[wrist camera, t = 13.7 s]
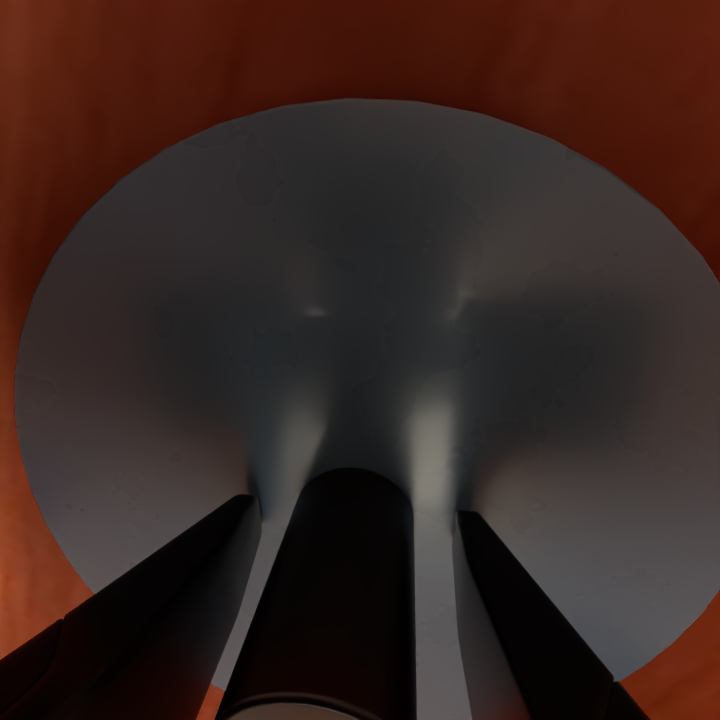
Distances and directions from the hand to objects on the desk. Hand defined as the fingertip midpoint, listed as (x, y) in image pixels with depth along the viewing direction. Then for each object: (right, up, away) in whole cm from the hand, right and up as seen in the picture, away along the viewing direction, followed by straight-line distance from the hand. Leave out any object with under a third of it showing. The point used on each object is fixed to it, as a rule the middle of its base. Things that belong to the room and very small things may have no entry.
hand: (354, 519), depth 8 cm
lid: (0, 0, +1) cm, 1 cm away
